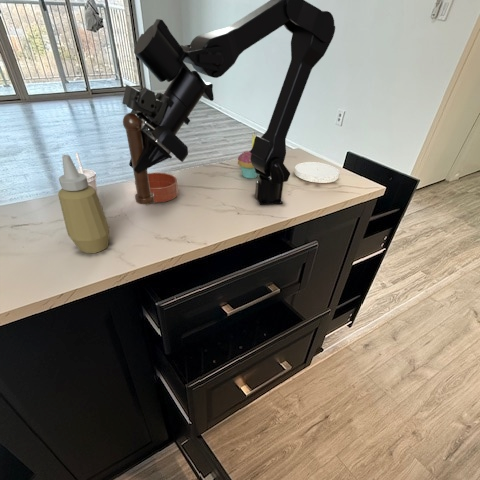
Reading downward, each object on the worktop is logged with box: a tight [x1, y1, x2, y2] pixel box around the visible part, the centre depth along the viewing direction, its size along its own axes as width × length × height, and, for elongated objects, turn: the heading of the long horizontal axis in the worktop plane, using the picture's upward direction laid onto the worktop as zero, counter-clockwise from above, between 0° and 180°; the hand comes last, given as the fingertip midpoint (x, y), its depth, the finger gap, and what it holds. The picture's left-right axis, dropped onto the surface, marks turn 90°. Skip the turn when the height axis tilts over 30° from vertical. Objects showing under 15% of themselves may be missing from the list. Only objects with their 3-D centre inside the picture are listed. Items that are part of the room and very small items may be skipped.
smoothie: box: [74, 152, 99, 197], centre depth 73 cm, size 6×6×14 cm
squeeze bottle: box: [57, 154, 111, 254], centre depth 61 cm, size 8×8×18 cm
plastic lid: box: [294, 161, 340, 184], centre depth 102 cm, size 14×14×2 cm
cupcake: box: [237, 131, 259, 179], centre depth 97 cm, size 9×8×12 cm
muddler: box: [122, 112, 155, 205], centre depth 65 cm, size 4×4×17 cm
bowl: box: [134, 172, 179, 204], centre depth 86 cm, size 11×11×4 cm
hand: (133, 169), depth 65 cm, fingers closed on muddler, 3 cm apart
